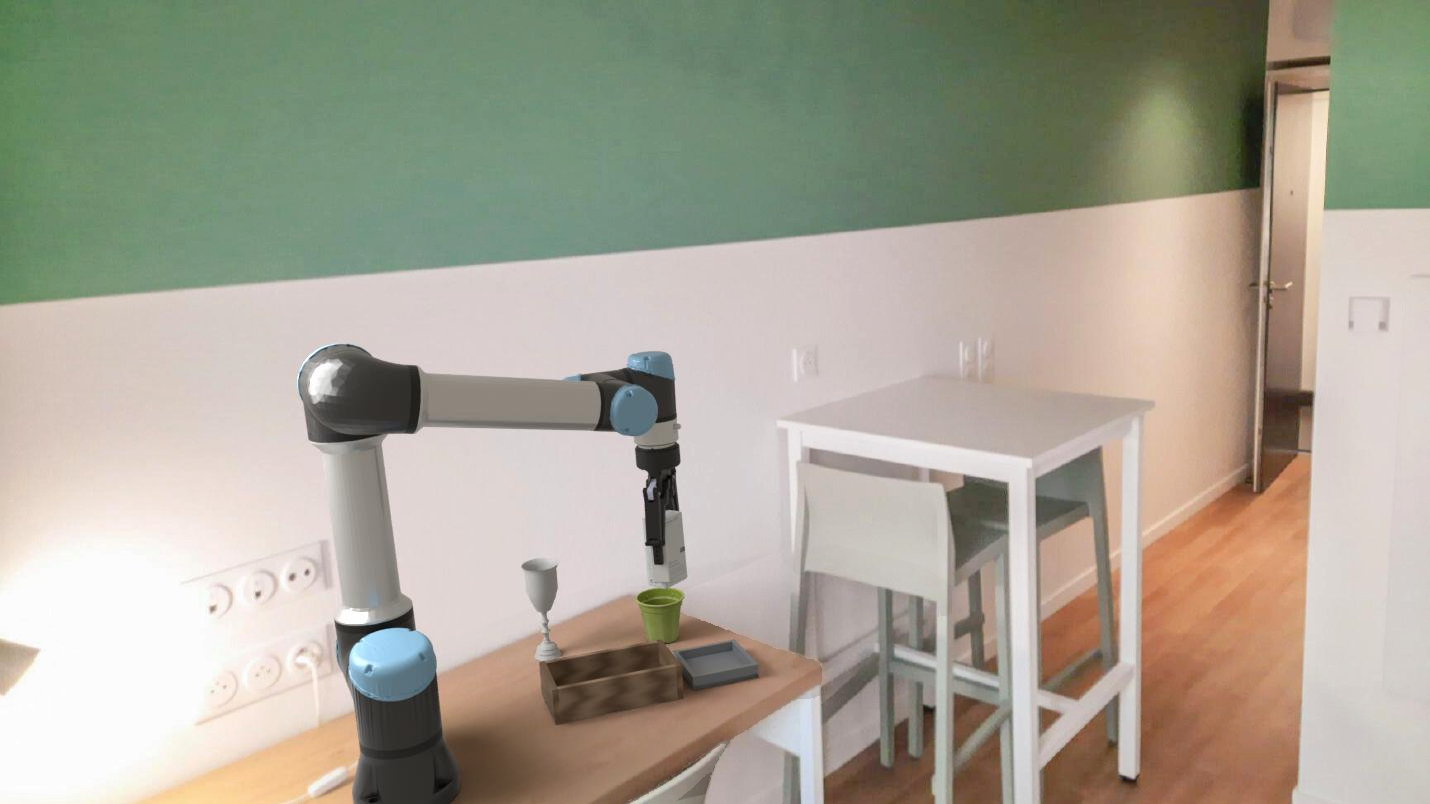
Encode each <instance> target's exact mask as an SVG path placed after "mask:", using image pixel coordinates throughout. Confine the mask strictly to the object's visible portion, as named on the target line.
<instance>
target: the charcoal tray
mask: <svg viewBox="0 0 1430 804" xmlns="http://www.w3.org/2000/svg"><path fill="white" fill-rule="evenodd" d="M672 654H673V655H674V656H675V658H676V659H677V660H678V662H679V663H680V664H681V666H682V678H683V679H684V680H685V681H686V683H687V684H688V685H689V686H690V688H691V689H692V691H695V692H696V691H700V690H704V689H710V688H714V687H718V686H719V687H720V686H723V685H729V684H734V683H739V682H745V681H749V679H750V680H754V679H759V678H760V675H759V674H760V673H759V672H760V671H759V664H758V662H757V661H756V660H755V659H754V658H753V657H752V656H751V655H750V654H749V653H748V652H747V651H746V650H745V649H744V647H743V646H741V644H740V643H739V642H738V641H737V640H736V639H729V640H723V641H718V642H713V643H706V644H703V645H697V646H693V647H687V648H682V649H676V650H672ZM753 678H754V679H753Z"/></svg>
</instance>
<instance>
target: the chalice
mask: <svg viewBox="0 0 1430 804" xmlns="http://www.w3.org/2000/svg"><path fill="white" fill-rule="evenodd" d="M558 565H559V560H558V559H556V558H553V557H538V558H533V559H530V560H527V561H525V562H523V563H522V564H521V567H520V568H521V569H522V571H523V572H524V580H525V590H526V591H525V592H526V593H527V594H526V595H527V596H528V599H529V601H530V603H531V604H532V606H533V607H534V609H535V611H536V612H538V613H541V620H540V623H541V624H542V629H541V631H540V632H541V633H542V635H543V640H542V641H541V642H539V644H538V645H537V646H536V650H535V653H534V656H533V657H534V659H535V660H536V661H539V662H542V661H547V660H553V659H558V658H561V656H562V652H561V651H560V648H559V647H558V645H557V643H556V642H555V641H553V640H551V639H550V637H549V636H550V632H551V629H549V627H548V626H549V623H550V620H549V619H548V612H549V611H551V610H552V607H553V605H554V603H555V601H556V597H557V592H558V589H559V582H558V572H557V571H558V570H557V568H558Z"/></svg>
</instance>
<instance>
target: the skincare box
mask: <svg viewBox="0 0 1430 804" xmlns="http://www.w3.org/2000/svg"><path fill="white" fill-rule="evenodd" d="M683 525H684V524H683V513H682V511H680V510H679V511H673V510H666V513H665V544H667V547H668V559H669V572H670V581H669V582H654V580H653V568H652V556H651V546H645V545H644V552H645V560H646V561H645V562H646V572H647V573H646V574H647V583H648V585H649V586H652V587H654V588H663V589H667V588H672V587H673V586H675V585H677V584H679V583H681V582H683V581H684V580H686V579H687V578H688V569H687V558H686V547H685V545H686V544H685V537H684V536H685V534H684V526H683ZM642 529H643V538H644V539H643V541H644V543H645V542H646V525H645V517H643V518H642Z"/></svg>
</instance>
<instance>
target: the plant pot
mask: <svg viewBox="0 0 1430 804" xmlns="http://www.w3.org/2000/svg"><path fill="white" fill-rule="evenodd" d="M685 597H686V596H685V593H684V592H683V591H682V590H680V589H678V588H674V587H669V588H667V589H663V588H658V587H654V588H648V589H645V590H642V591H640V592H639V593H637V594H636V596H635V601H636V603H637V604H638V608H639V610H640V613H641V614H640V615H641V617H642V622H643V623H642V624H643V627H644V633H645V639H646V640H647V642H650V641H655V640H661V639H662V641H663V642H664V643H665V644H671V643H673V642H675V641H676V640H678V638H679V633H680V632H679V630H680V617H681V608H682V605H683V600H684V599H685Z"/></svg>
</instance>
